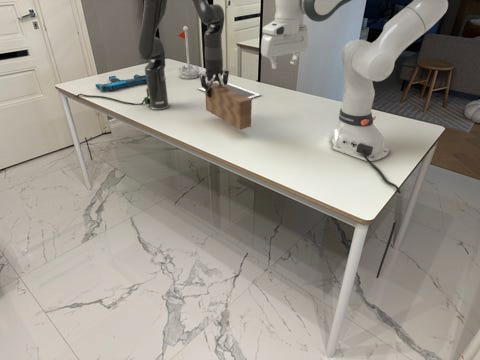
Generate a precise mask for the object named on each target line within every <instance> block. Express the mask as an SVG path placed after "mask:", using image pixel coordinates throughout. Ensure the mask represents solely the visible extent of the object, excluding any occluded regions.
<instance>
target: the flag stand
mask: <svg viewBox="0 0 480 360" xmlns="http://www.w3.org/2000/svg"><path fill="white" fill-rule="evenodd" d="M182 29H183V32H181V33H180V34H178V35H177V36H178V37H179V38H182V39H183V40H184V41H185V51H186V65H187V66H186V65H182V66H180V67H178V73H179V74H180V78H182V79H185V80H187V79H188V80H191V79H196V78H198V77H199V74H200V67H199V66H198V65H194V66H193V65H192V64H191V62H190V49H189V39H188V38H189V35H188V30H189V27H188V26H187V25H184V26H183V27H182Z"/></svg>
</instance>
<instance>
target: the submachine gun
mask: <svg viewBox="0 0 480 360" xmlns="http://www.w3.org/2000/svg"><path fill="white" fill-rule="evenodd" d="M108 80H109V81H110V82H108V83H94V84H95V88H97V89H98V90H99V91H101V92H104V91H111V90H112V91H116V90H115V89H119V88H124V87H128V86H133V85H138V84H143V83H147V81H146V75H145V74H143V75H140V74H134V75H133V78H128V79H120V78H117V76H116V75H110V76H108Z"/></svg>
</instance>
